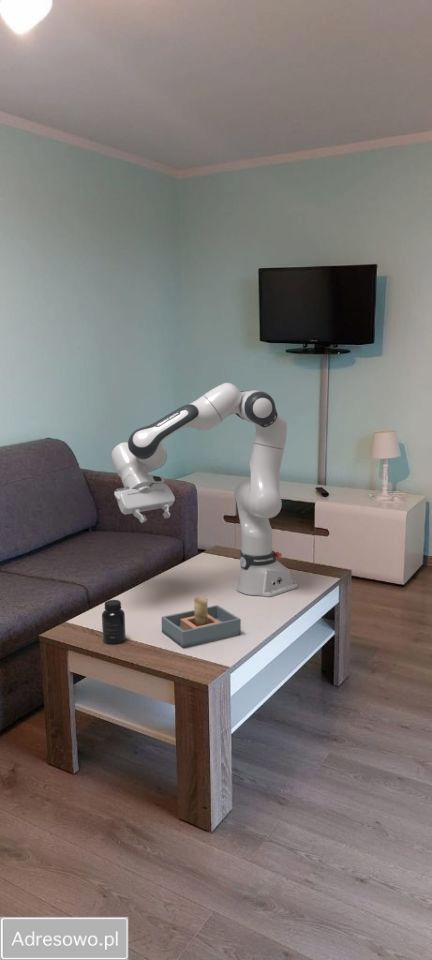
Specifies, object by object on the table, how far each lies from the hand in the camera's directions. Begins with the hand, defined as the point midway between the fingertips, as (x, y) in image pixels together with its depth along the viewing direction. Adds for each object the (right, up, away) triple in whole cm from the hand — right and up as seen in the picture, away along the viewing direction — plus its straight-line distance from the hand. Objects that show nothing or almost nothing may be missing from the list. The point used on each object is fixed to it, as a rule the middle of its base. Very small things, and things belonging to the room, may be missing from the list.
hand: (156, 519), depth 237 cm
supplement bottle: (-11, -36, -18) cm, 42 cm away
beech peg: (+15, -33, -14) cm, 39 cm away
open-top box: (+15, -34, -13) cm, 40 cm away
